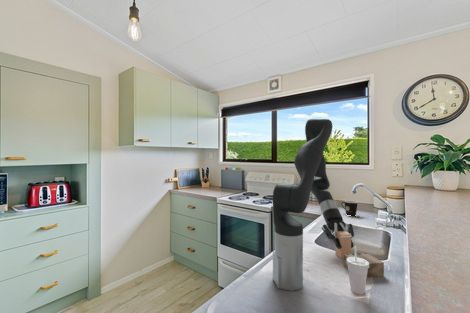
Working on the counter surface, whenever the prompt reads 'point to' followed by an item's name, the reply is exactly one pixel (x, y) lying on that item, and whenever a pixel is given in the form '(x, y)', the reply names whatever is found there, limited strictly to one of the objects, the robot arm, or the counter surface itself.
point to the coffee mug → (350, 207)
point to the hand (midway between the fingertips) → (345, 247)
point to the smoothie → (357, 273)
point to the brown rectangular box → (374, 264)
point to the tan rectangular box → (343, 244)
